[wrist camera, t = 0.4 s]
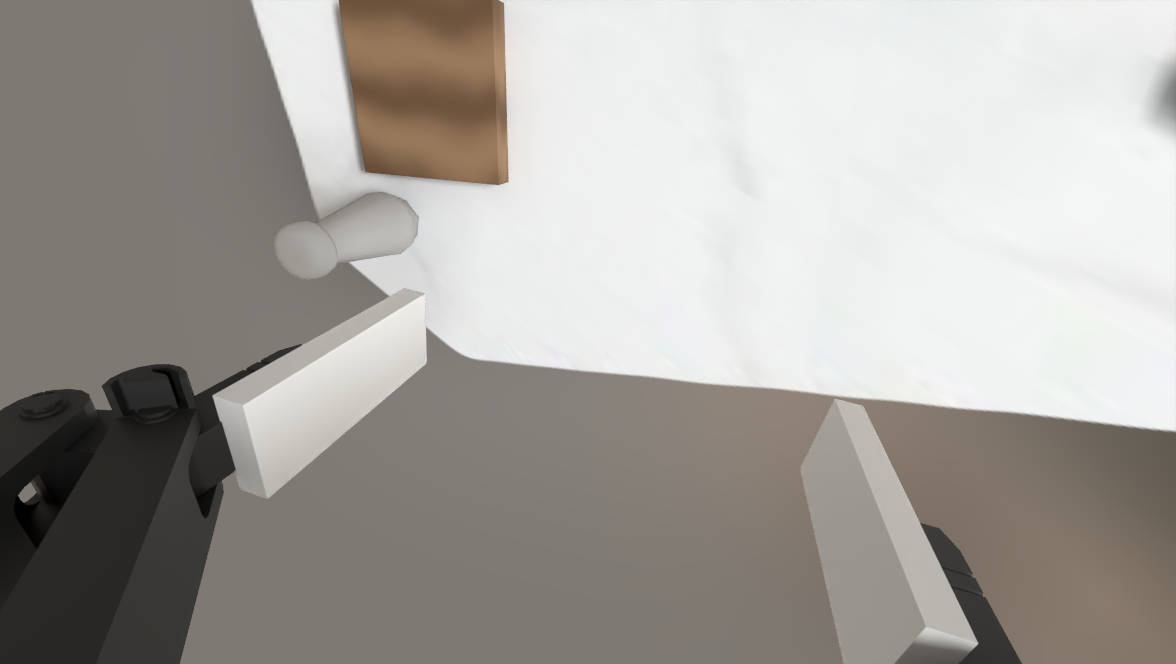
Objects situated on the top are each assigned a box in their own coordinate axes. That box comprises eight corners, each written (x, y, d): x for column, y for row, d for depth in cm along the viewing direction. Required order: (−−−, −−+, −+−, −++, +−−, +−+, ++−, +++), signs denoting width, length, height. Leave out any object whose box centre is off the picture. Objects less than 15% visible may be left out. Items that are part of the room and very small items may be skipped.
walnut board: (356, 2, 37) (338, -4, 35) (503, 3, 34) (492, -3, 33) (380, 169, 43) (365, 172, 41) (508, 181, 40) (498, 184, 38)
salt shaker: (365, 219, 45) (247, 254, 34) (389, 175, 43) (270, 197, 31) (410, 260, 46) (309, 307, 35) (437, 219, 43) (337, 255, 32)
